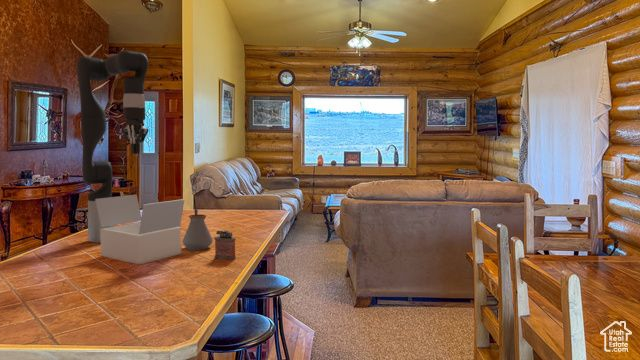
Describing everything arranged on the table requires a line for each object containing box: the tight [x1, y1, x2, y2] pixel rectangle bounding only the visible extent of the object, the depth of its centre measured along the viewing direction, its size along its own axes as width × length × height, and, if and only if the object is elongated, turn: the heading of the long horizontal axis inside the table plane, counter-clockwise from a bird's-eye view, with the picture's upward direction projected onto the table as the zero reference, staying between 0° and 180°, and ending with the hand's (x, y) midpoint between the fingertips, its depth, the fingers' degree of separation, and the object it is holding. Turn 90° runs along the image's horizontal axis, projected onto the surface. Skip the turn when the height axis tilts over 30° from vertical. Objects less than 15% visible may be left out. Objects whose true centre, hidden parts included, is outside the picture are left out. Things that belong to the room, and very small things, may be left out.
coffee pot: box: [182, 204, 214, 251], centre depth 191 cm, size 21×12×15 cm, turn 17°
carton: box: [100, 221, 182, 265], centre depth 175 cm, size 22×18×10 cm
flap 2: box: [139, 198, 185, 234], centre depth 167 cm, size 10×17×1 cm
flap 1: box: [95, 194, 142, 227], centre depth 180 cm, size 10×17×1 cm
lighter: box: [214, 230, 237, 260], centre depth 170 cm, size 8×3×10 cm, turn 71°
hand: (135, 153), depth 177 cm, fingers closed
